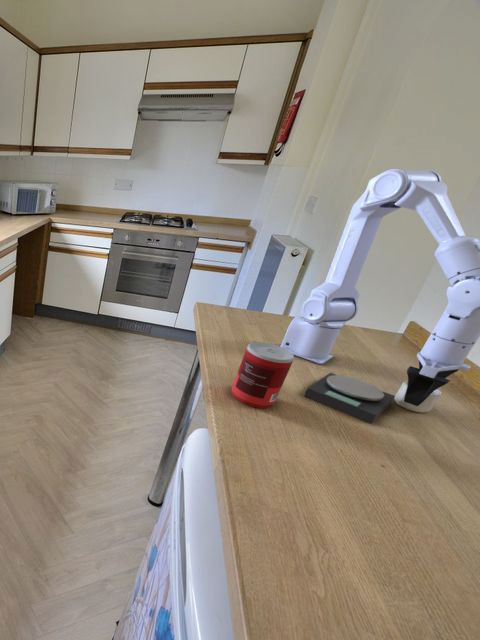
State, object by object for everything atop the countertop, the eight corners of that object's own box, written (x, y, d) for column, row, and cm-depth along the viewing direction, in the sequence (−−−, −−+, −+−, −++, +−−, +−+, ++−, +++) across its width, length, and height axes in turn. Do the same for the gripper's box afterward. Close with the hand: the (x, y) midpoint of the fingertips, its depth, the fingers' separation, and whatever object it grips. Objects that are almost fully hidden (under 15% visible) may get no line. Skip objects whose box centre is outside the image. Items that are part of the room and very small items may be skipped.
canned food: (266, 392, 86) (286, 345, 82) (279, 412, 79) (301, 363, 75) (226, 384, 88) (243, 338, 84) (234, 404, 82) (254, 355, 77)
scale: (303, 396, 86) (308, 385, 85) (326, 380, 92) (331, 370, 91) (371, 423, 77) (377, 412, 76) (390, 404, 84) (396, 393, 83)
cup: (389, 403, 85) (400, 384, 83) (397, 396, 87) (407, 377, 85) (425, 416, 81) (438, 397, 79) (432, 408, 83) (444, 389, 82)
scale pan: (319, 384, 85) (320, 382, 85) (334, 373, 90) (336, 371, 90) (375, 405, 79) (376, 403, 78) (388, 393, 83) (390, 390, 83)
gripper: (477, 354, 71) (435, 419, 76) (490, 337, 78) (451, 397, 84) (421, 339, 76) (385, 400, 82) (438, 325, 83) (405, 382, 89)
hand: (415, 398), depth 83 cm, fingers open, 7 cm apart
